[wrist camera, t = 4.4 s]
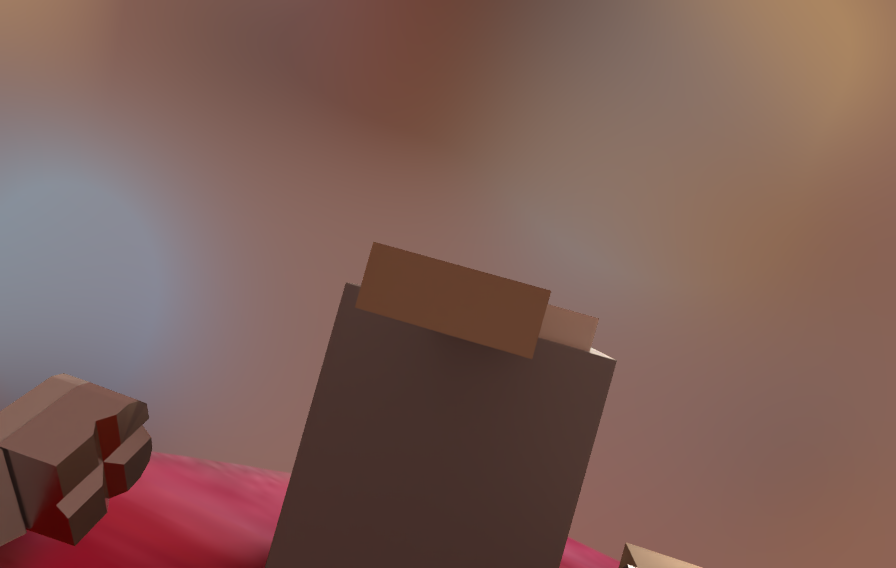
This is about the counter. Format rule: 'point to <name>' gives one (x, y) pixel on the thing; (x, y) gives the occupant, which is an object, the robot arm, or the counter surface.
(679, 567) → the box
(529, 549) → the carton
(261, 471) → the counter surface
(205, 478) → the counter surface
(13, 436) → the robot arm
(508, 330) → the lid flap
